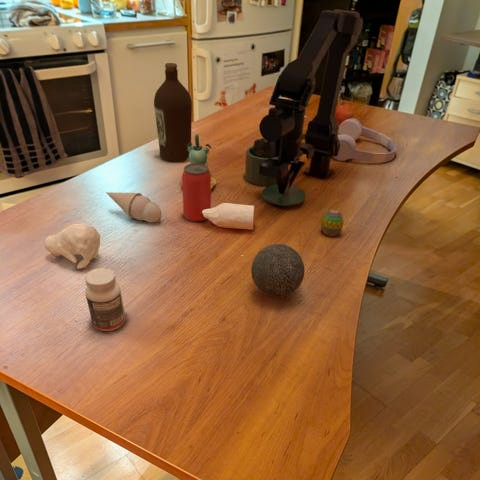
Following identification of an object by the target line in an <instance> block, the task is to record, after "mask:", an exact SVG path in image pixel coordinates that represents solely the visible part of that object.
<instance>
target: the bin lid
mask: <svg viewBox="0 0 480 480" xmlns="http://www.w3.org/2000/svg"><path fill="white" fill-rule="evenodd" d="M289 183H290V182H289ZM261 197H262V199H263V200H264V201H265V202H268V203H270V204H273V205H276V206H284V207H290V206H296V205H300V204H302V203H303V202H304V201H305V200H306V197H307V196H306V193H305V191H304V190H303V189H301V188H300V187H297V186H295V185H291V187H290V189H289V184H288V186H287V188H286V190H285V192H284V194H280V193H279V190H278V186H277V185H271V186H264V188H263V189H262V190H261Z"/></svg>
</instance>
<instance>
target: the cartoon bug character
mask: <svg viewBox="0 0 480 480" xmlns="http://www.w3.org/2000/svg"><path fill="white" fill-rule="evenodd" d="M194 143H195V145H193V142H191V143H188V144H187V147H188V146H189V145H191V146H189V147H188V152H190V153H189V158H188V159H187V160H185V163H188V161H189V164H194V163H198V164H203V165H206V166H207V167H208V171H209V173H210V172H211V170H210V169H209V164H208V154H209V153H210V150H211V149H212V146H211V145H210V144H209V143H205V148H203V145H200V139H199V134H198V133H195V134H194ZM210 174H211V173H210ZM210 177H211V189H213V188H214V187H215V186H216V183H217V179H216V177H214V176H213V175H210ZM180 185H181V186H182V182H180Z"/></svg>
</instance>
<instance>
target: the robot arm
mask: <svg viewBox="0 0 480 480" xmlns="http://www.w3.org/2000/svg"><path fill="white" fill-rule="evenodd" d="M363 25H364V20H363V18H362V17H361V15H360V13H359V12H358V11H352V10H343V9H333V10H328V9H325V10H322V11H320V13H319V15H318V19H317V23H316V25H315V27H314V28H313V30H312V31H311V34H310V35H309V37H308V40H307V41H306V43H305V44H304V46H303V48H302V49H301V51H300V53H299V55H298V56H297V58H295V59H293V60H292V61H290V62H288V63H287V64H286V66H285V67H284V69H283V70H282V71H281V73H280V74H279V76H278V77H277V80H276V83H275V85H274V89H273V91H272V94H271V97H270V99H269V103H268V105H270V106H273V107H269V109H268V113H267V114H266V115H264V116H263V117H262V118H261V120H260V123H259V126H258V127H259V129H258V130H259V133H260V135H261V137H262V138H257V139H254V141H253V145H252V146H254V148H253V151H254V152H255V153H256V154H258V156H261V155H263V154H270V153H271V156H273V157H278V159H277V160H275V159H271V158H269V159H267V160H265V161H264V162H262V163H261V164H260V165H259V170H258V173H259V174H261V175H264V176H268V177H271V178H274V179H276V181H277V186H278V190H279V193H280V194H284V192H285V190H286V188H287V186H288V184H289V189H290V187H291V186H293V184H294V182H295V180H296V179H297V178H298V175H299V174H300V172H301V171H302V169H303V168H304V166H305V165H306V161H302V158H301V157H303V155H305V158H306V160H309V167H307V169H306V170H304V171H303V173H304V174H305V175H309V176H312V177H317V178H321V179H326V178H327V177H328V176H329V175H331V174H332V173H333V172H334V169H332V168H330V166H331V160H332V158H334V157H333V156H338V152H339V150H340V142H339V138H338V135H339V134H338V133H339V131H338V130H339V128H338V125H337V122H336V118H335V112H336V107H337V103H339V98H340V92H341V89H342V88H341V87H342V83H343V78H344V73H345V68H346V65H347V58H348V54H349V53H350V52H351V51H352V49H353V48H354V47H355V46H356V44H357V43H358V39H359V36H360V35H361V33H362V30H363ZM327 52H328V53H327ZM326 54H327V58H326V64H325V69H324V74H323V79H322V84H321V91H320V94H319V95H320V96H319V101H318V106H317V110H316V115H314V117H313V118H312V119H311V120H309V122H308V123H307V128H306V131H305V133H303V131H304V125H305V115H306V108H307V107H309V102H310V100H311V98H312V96H313V94H314V91H315V86H316V73H317V70H318V68H319V67H320V65H321V63H322V60H323V59H324V58H325V56H326ZM302 141H304V142H302ZM289 182H290V183H289Z"/></svg>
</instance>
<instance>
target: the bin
mask: <svg viewBox="0 0 480 480" xmlns="http://www.w3.org/2000/svg"><path fill="white" fill-rule="evenodd" d="M253 148H254V145H252V146H250V147H248V148H247V149H246V153H245V169H244V173H245V174H244V176H245V180H246V181H247V182H248V183H249V184H252V185H255V186H259V187H268V186H271V185H277V181H276V179H274V178H271V177H268V176H264V175H261V174H259V173H258V170H259V165H260V164H261V163H262V162H264V161H265V160H267V159H269V158H271V159H275V160H277V159H278V157H273V156H271V153H270V154H263V155H261V156H258V154H256V153H255V152H254V151H253Z"/></svg>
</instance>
